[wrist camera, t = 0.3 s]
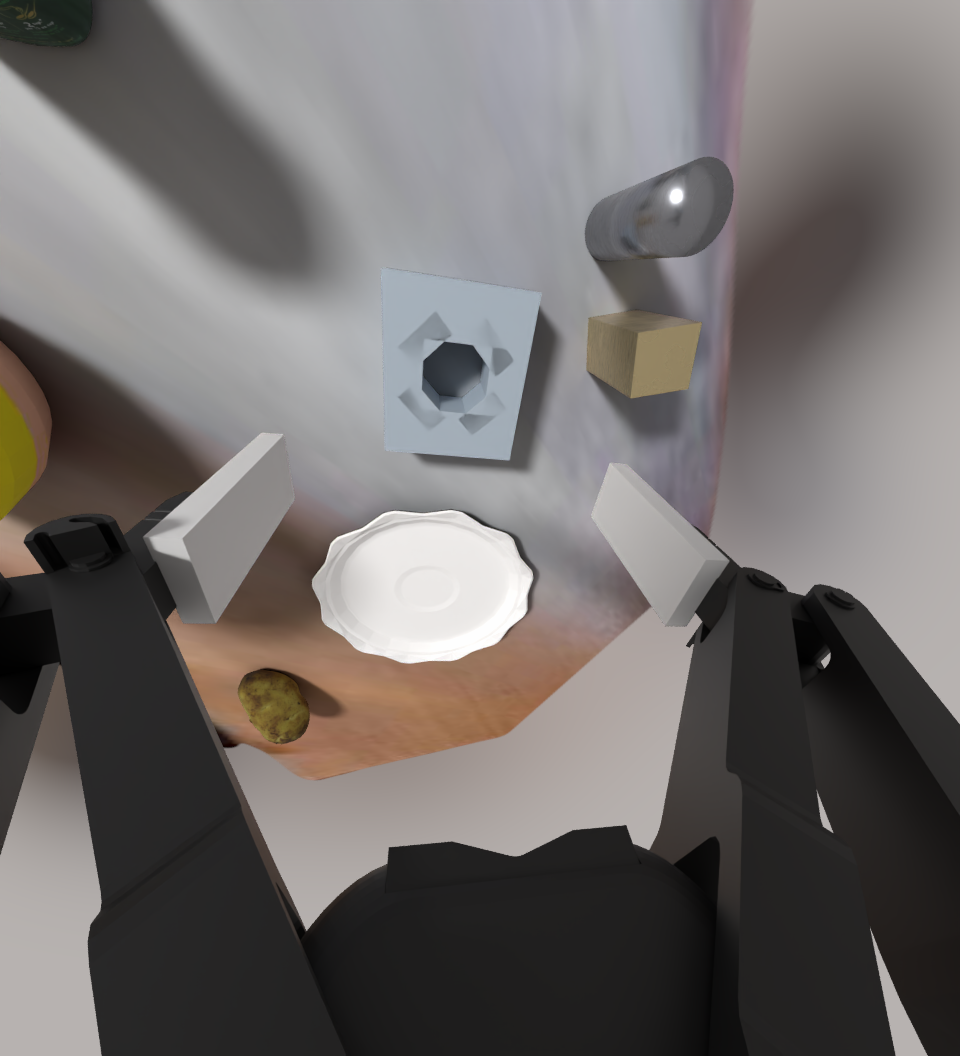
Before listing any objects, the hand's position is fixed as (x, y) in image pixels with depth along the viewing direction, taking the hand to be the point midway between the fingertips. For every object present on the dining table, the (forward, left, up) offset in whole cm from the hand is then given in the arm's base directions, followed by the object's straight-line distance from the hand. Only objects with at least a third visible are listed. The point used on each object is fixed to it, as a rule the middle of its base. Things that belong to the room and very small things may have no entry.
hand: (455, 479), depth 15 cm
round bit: (-12, +13, -24) cm, 30 cm away
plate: (+30, 0, -25) cm, 39 cm away
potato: (+53, -23, -24) cm, 63 cm away
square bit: (-4, +16, -24) cm, 29 cm away
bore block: (0, +1, -24) cm, 24 cm away
